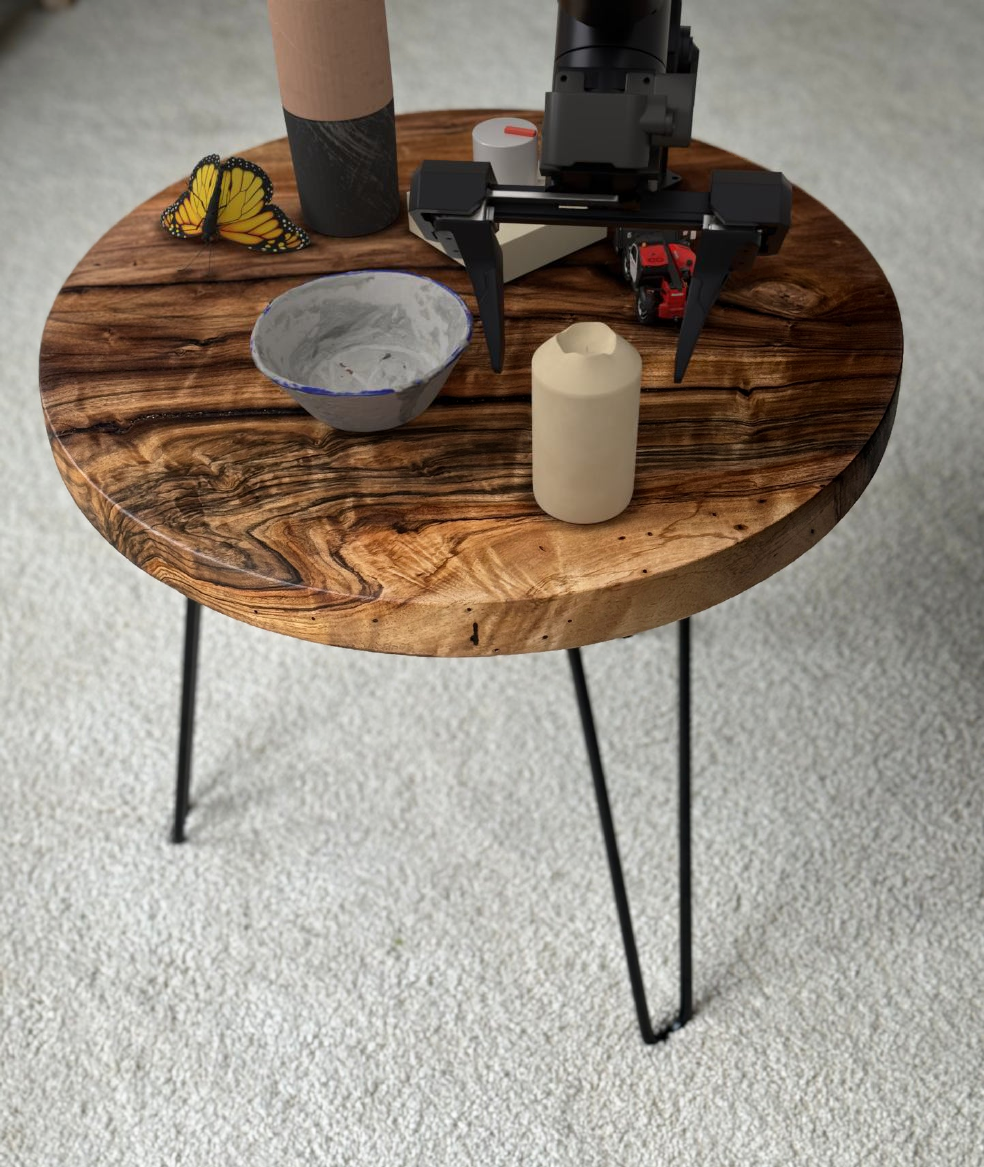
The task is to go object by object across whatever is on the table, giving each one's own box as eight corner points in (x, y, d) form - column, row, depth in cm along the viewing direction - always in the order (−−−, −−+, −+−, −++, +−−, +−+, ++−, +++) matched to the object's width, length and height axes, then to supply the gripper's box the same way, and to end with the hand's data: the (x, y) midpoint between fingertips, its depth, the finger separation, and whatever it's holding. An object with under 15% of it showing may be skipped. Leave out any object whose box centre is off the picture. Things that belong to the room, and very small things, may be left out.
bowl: (477, 328, 79) (474, 261, 76) (475, 456, 70) (472, 387, 67) (276, 333, 79) (264, 267, 76) (249, 461, 70) (234, 393, 67)
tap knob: (465, 203, 85) (461, 136, 81) (488, 175, 87) (486, 108, 84) (524, 214, 83) (524, 146, 80) (547, 184, 86) (547, 117, 83)
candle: (626, 531, 65) (636, 375, 58) (524, 519, 66) (522, 364, 59) (638, 465, 69) (649, 311, 62) (542, 454, 70) (542, 302, 63)
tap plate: (517, 186, 93) (516, 145, 90) (607, 237, 87) (608, 195, 85) (409, 230, 88) (405, 189, 86) (496, 287, 83) (494, 245, 80)
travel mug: (414, 191, 92) (391, -102, 78) (388, 243, 87) (358, -62, 73) (316, 184, 94) (276, -106, 79) (285, 235, 88) (236, -66, 74)
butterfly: (266, 285, 82) (295, 305, 87) (295, 156, 82) (322, 184, 87) (110, 257, 85) (146, 278, 90) (138, 133, 85) (173, 161, 90)
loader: (610, 243, 86) (613, 180, 83) (675, 238, 86) (680, 175, 83) (641, 340, 78) (645, 274, 74) (713, 334, 78) (720, 268, 75)
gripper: (398, -7, 56) (373, 338, 56) (820, 1, 54) (792, 360, 54) (438, 89, 67) (417, 377, 67) (788, 99, 65) (766, 396, 65)
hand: (586, 377), depth 63 cm, fingers open, 9 cm apart
